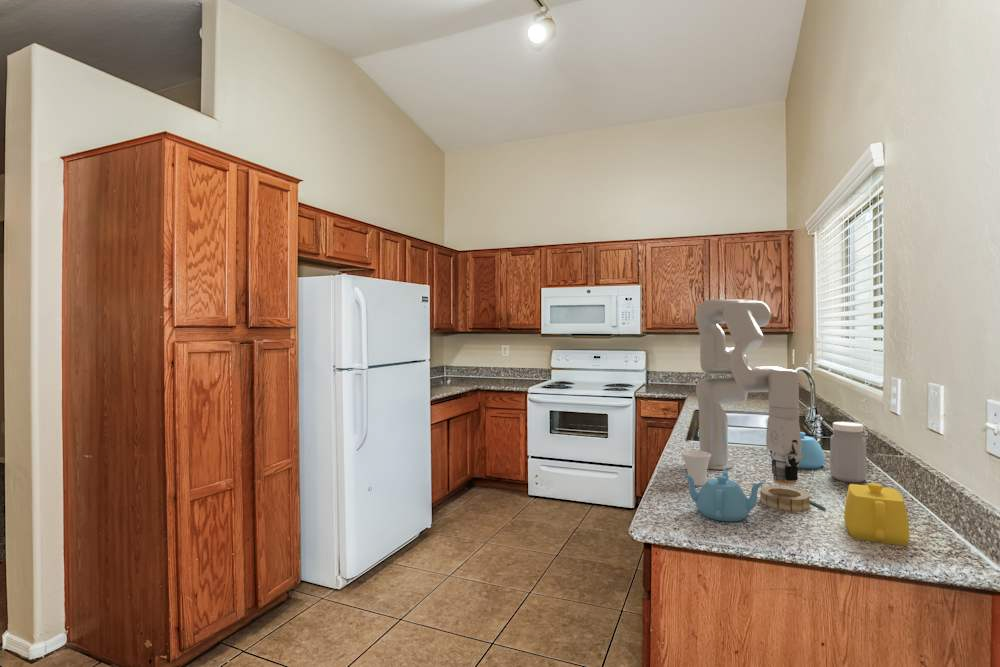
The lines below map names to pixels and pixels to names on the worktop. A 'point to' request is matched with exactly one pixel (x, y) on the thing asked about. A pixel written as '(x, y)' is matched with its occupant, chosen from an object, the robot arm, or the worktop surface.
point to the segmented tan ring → (784, 498)
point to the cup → (697, 465)
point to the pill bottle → (781, 470)
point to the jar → (848, 452)
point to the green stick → (817, 505)
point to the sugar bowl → (811, 453)
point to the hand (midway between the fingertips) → (784, 476)
